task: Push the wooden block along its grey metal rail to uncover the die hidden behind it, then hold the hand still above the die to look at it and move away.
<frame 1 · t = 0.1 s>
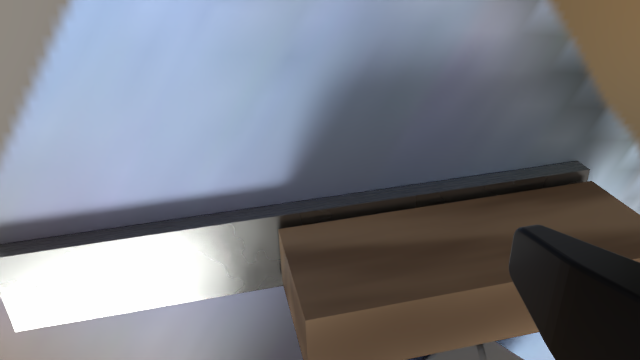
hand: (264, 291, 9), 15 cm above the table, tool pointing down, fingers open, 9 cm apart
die: (447, 359, 34), on the table
rail: (316, 234, 27), on the table
wooden block: (469, 266, 24), point 4 cm above the table, slide at 0.0 cm
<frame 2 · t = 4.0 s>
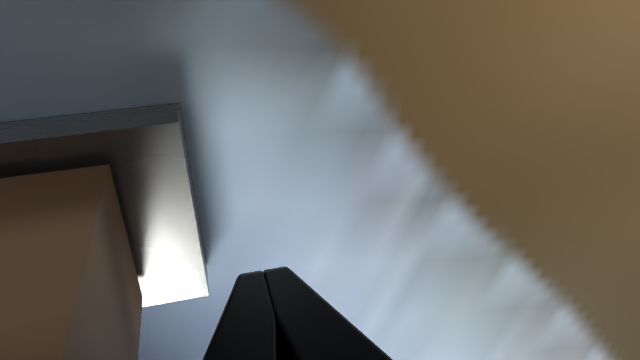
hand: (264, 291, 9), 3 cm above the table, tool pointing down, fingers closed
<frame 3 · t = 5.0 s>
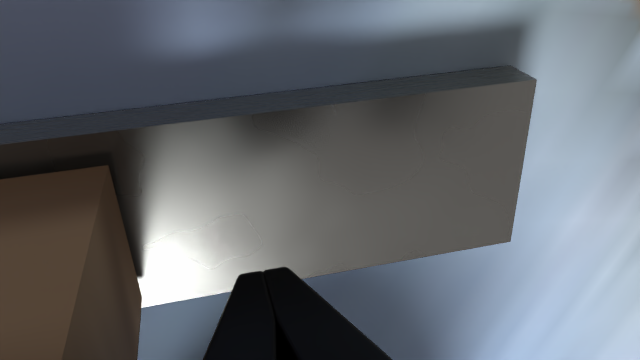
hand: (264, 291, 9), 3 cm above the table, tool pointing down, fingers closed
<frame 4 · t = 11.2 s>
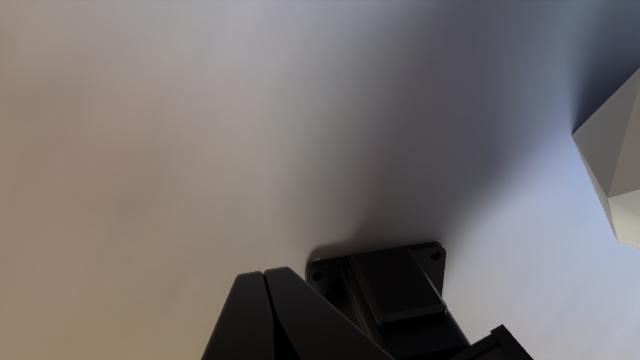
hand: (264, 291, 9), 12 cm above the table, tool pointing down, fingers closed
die: (627, 118, 25), on the table
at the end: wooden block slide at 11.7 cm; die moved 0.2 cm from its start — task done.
